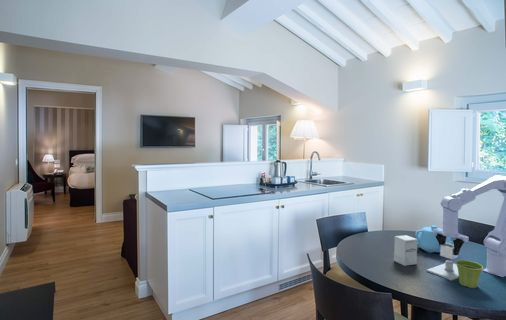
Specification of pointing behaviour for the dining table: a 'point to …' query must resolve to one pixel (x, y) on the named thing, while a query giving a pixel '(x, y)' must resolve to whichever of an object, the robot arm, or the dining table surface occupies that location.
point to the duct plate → (446, 270)
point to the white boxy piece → (447, 251)
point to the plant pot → (469, 273)
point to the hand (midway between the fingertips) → (449, 252)
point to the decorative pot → (429, 239)
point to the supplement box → (405, 250)
